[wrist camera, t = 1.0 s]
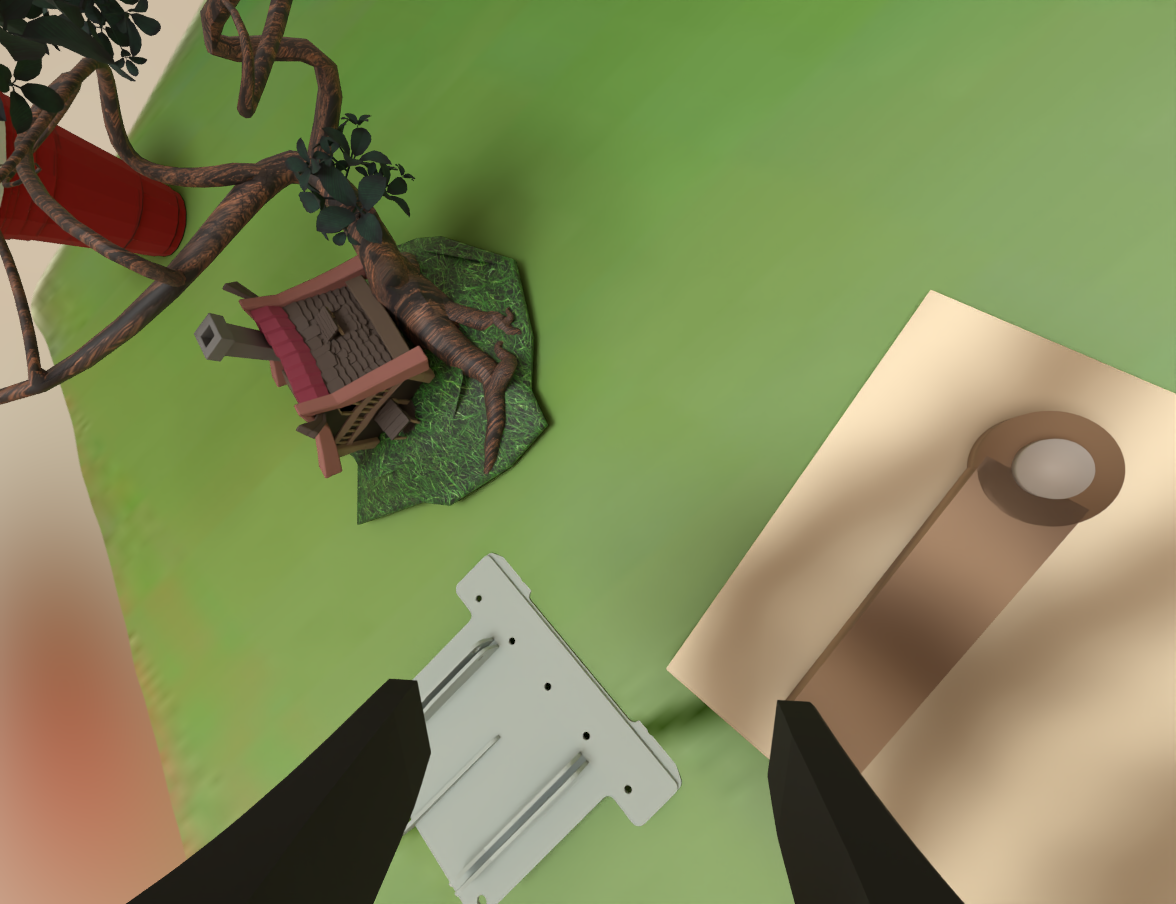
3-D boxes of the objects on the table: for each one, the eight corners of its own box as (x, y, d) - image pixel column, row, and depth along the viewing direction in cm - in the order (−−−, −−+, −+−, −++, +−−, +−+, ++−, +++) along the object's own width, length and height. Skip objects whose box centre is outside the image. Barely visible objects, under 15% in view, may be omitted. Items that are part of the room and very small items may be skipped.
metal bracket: (469, 1005, 24) (308, 722, 29) (521, 927, 29) (377, 700, 35) (696, 780, 23) (490, 534, 29) (706, 743, 29) (531, 542, 34)
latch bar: (1010, 396, 19) (1032, 386, 16) (1127, 452, 17) (1170, 450, 15) (777, 696, 22) (765, 726, 20) (859, 763, 21) (858, 805, 18)
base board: (1741, 648, 13) (1804, 661, 12) (1164, 1086, 18) (1180, 1119, 17) (927, 297, 21) (930, 289, 20) (672, 661, 26) (665, 669, 25)
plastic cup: (126, 222, 51) (-71, 159, 40) (179, 136, 47) (-24, 39, 36) (156, 313, 48) (-47, 271, 37) (216, 229, 44) (6, 155, 33)
